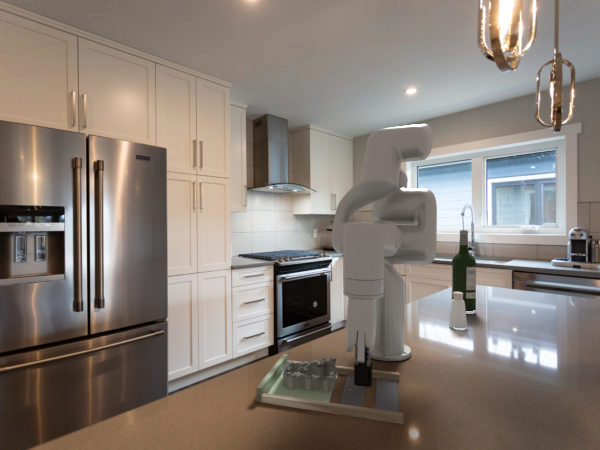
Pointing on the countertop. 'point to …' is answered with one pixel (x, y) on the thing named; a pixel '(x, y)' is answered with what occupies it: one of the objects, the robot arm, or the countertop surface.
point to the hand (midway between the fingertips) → (363, 384)
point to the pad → (299, 391)
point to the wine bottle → (464, 273)
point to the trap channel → (322, 406)
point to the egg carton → (311, 375)
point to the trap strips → (384, 394)
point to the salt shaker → (458, 311)
